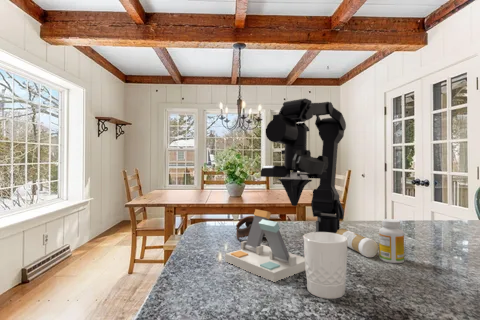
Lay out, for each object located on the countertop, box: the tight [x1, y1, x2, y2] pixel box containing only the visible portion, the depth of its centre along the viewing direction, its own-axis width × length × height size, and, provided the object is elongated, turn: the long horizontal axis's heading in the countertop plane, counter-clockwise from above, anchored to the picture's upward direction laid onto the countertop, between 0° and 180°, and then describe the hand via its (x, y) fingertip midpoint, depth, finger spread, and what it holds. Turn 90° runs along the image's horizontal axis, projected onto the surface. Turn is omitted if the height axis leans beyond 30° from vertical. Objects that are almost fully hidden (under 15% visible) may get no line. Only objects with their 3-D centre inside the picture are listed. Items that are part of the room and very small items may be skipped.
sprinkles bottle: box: [336, 227, 379, 258], centre depth 77 cm, size 5×5×13 cm
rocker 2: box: [259, 219, 290, 263], centre depth 61 cm, size 1×4×10 cm, turn 41°
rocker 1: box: [245, 208, 272, 252], centre depth 71 cm, size 1×4×10 cm, turn 40°
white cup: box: [303, 231, 348, 300], centre depth 52 cm, size 8×8×10 cm
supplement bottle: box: [378, 218, 405, 264], centre depth 69 cm, size 5×5×10 cm
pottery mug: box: [235, 215, 266, 240], centre depth 90 cm, size 12×9×8 cm
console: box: [224, 240, 306, 283], centre depth 66 cm, size 12×16×4 cm
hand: (294, 205), depth 74 cm, fingers closed
